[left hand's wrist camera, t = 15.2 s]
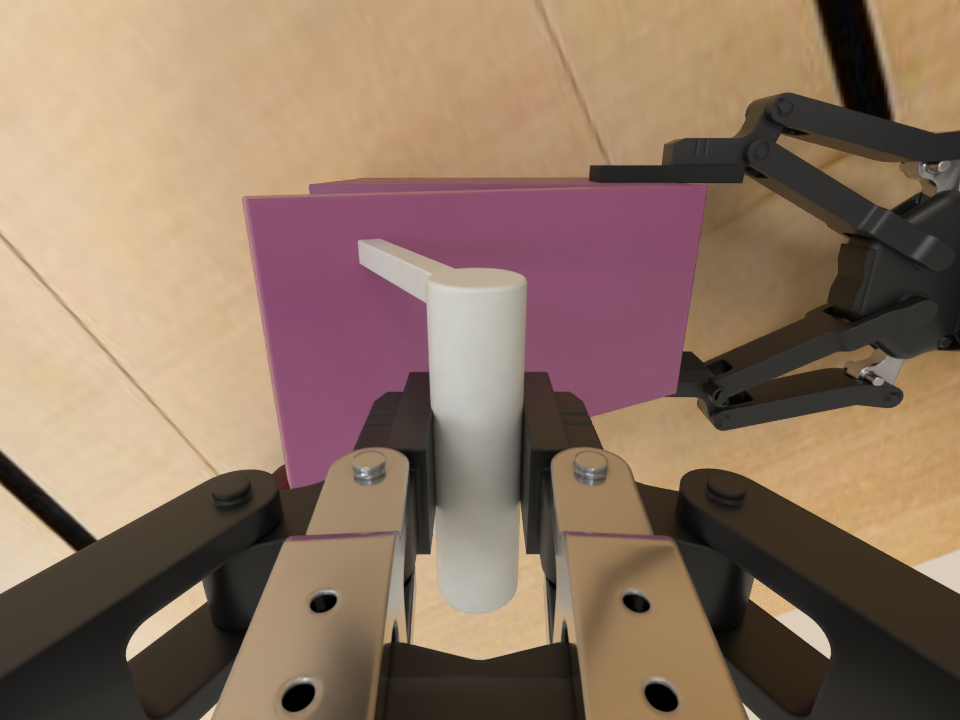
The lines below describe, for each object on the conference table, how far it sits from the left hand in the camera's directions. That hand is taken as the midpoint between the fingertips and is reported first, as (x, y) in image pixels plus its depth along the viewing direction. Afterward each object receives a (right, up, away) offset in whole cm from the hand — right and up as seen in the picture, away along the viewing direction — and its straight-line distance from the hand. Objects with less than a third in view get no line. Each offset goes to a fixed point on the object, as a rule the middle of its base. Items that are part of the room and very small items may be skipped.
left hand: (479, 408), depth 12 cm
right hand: (+6, +6, +14) cm, 16 cm away
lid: (+1, +3, +7) cm, 8 cm away
